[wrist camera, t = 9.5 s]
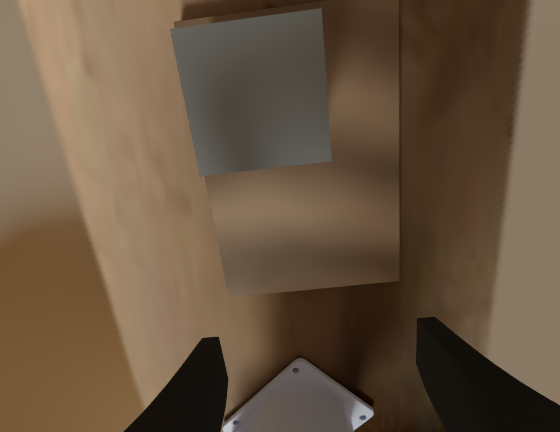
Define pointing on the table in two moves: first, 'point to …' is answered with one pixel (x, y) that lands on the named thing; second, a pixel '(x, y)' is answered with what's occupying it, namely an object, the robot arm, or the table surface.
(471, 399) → the robot arm
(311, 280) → the stand
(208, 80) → the matte gray cube
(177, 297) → the table surface
